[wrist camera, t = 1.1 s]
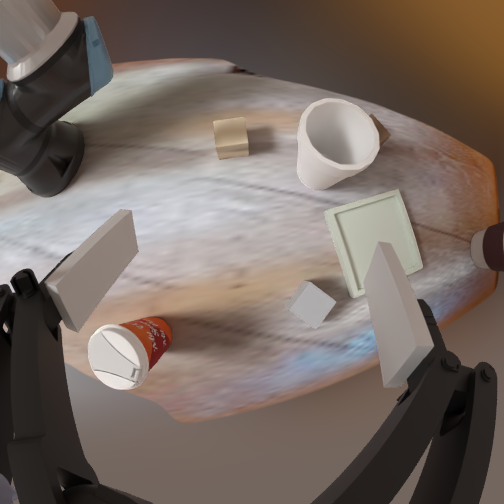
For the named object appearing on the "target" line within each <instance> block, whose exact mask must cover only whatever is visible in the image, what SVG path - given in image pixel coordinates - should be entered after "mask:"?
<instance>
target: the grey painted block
mask: <svg viewBox="0 0 504 504" xmlns="http://www.w3.org/2000/svg"><path fill="white" fill-rule="evenodd" d="M335 303H336V301H335V300H333V299H332V298H331V297H330V296H328V295H327V294H326V293H324V292H323V291H322V290H320V289H319V288H318V287H316V286H315V285H314V284H313V283H311V282H309V281H303V282H302V284H301V285H300V286H299V288H298V289H297V290H296V292H295V293H294V294H293V296H292V297H291V298H290V300H289V301H288V302H287V304H286V305H285V306H286V307H287V309H288V310H289V311H291V312H292V313H293V314H295V315H296V316H298V317H299V318H300V319H302V320H303V321H304V322H306V323H307V324H309V325H310V326H311V327H313V328H314V329H315V330H316V329H317V328H318V326H319V325H320V324H321V322H322V321H323V320H324V318H325V317H326V316H327V314H328V313H329V312H330V310H331V309H332V308H333V306H334V305H335Z"/></svg>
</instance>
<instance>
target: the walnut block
mask: <svg viewBox="0 0 504 504" xmlns="http://www.w3.org/2000/svg"><path fill="white" fill-rule="evenodd" d="M369 117H370V118H371V119H372V121H373V123H374V125H375V127H376V129H377V131H378V133H379V147H380V146H381V145H382V144H383V143H384V142H385V141H386V140H387V139H388V138H389V137H390V136H391V135H390V133H389V132H388V131H387V130H386V129H385V128H384V127H383V125H382V124H381V123H380V122H379V121H378V120H377V119H376V118H375V117H374V115H373V114H371V115H369Z"/></svg>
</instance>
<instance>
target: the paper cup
mask: <svg viewBox="0 0 504 504" xmlns="http://www.w3.org/2000/svg"><path fill="white" fill-rule="evenodd" d="M171 341H172V332H171V329H170V327H169V325H168V324H167V323H166V322H165V321H164V320H162V319H161V318H158V317H147V318H143V319H139V320H135V321H131V322H127V323H123V324H119V325H114V324H109V325H105V326H102V327H100V328H99V329H98V330H96V332H95V333H94V334H93V335H92V336H91V338H90V341H89V344H88V358H89V362H90V365H91V368H92V370H93V372H94V373H95V375H96V376H97V377H98V378H99V380H101V381H102V382H103V383H104V384H106V385H108V386H109V387H112V388H114V389H120V390H124V389H133V388H136V387H138V386H140V385H141V384H142V383H143V382H144V380H145V379H146V377H147V374H148V371H149V370H150V369H151V368H152V367H153V366H154V365H155V364H156V363H157V361H158V360H159V359H160V357H161V356H162V355H163V353H164V352H165V351H166V350H167V348H168V347H169V345H170V344H171Z"/></svg>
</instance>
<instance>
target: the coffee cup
mask: <svg viewBox="0 0 504 504" xmlns="http://www.w3.org/2000/svg"><path fill="white" fill-rule="evenodd" d="M470 250H471V257H472V260H473V262H474V264H475V265H476V266H477V267H478V268H481V269H491V270H494V271H504V222H502V223H499V224H496V225H493V226H490V227H489V228H487V229H484V230H481V231H478V232H476V233H475V234H474V236H473V238H472V240H471V246H470Z"/></svg>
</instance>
